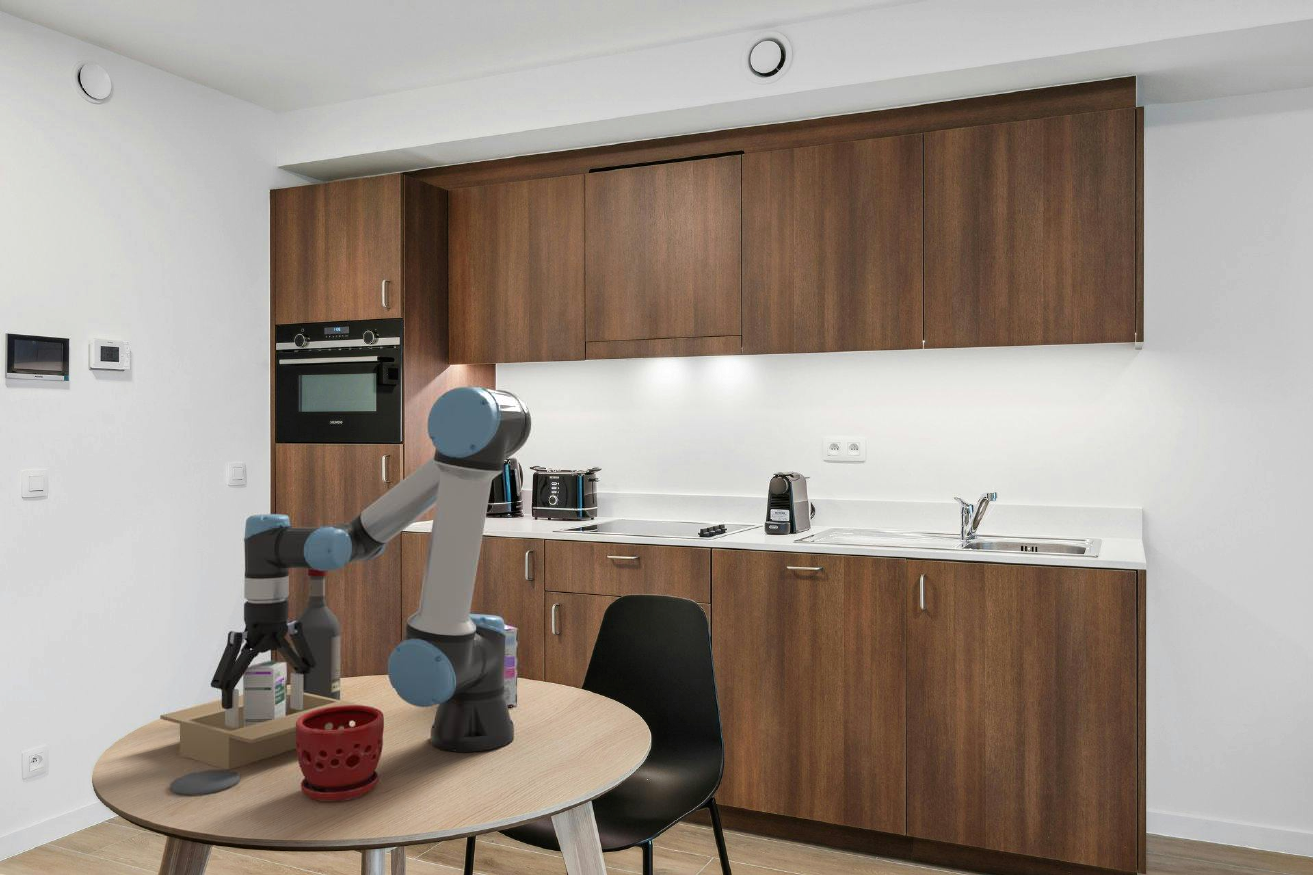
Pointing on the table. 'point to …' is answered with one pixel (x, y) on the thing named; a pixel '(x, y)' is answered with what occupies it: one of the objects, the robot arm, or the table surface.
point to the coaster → (205, 782)
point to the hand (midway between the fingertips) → (265, 717)
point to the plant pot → (339, 751)
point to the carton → (241, 732)
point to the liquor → (321, 640)
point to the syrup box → (264, 692)
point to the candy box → (511, 665)
